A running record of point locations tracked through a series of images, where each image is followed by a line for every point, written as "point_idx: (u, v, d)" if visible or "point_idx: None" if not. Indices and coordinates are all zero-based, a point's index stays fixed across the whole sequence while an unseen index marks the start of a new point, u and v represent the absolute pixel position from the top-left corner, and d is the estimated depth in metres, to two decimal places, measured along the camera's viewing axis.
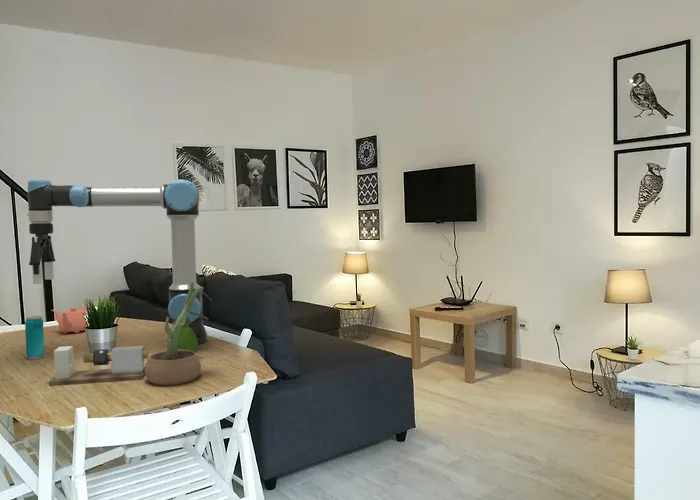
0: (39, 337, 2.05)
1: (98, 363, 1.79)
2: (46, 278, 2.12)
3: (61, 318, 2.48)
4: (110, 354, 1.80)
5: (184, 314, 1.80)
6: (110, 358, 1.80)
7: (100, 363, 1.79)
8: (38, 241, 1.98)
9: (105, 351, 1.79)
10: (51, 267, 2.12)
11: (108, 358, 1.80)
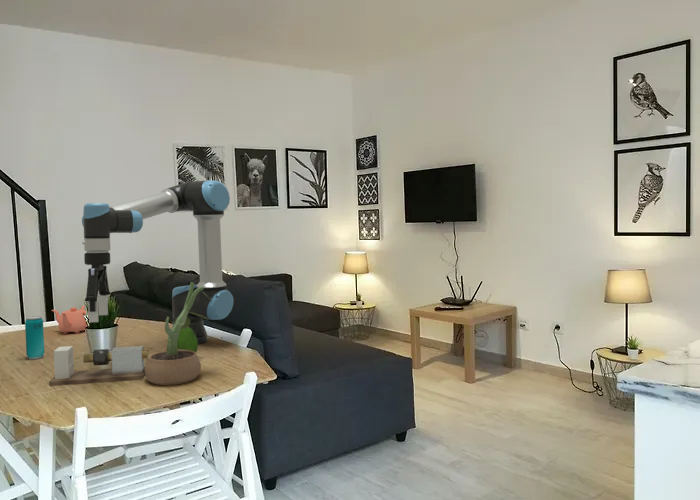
0: (39, 337, 2.05)
1: (98, 363, 1.79)
2: (100, 314, 1.87)
3: (61, 318, 2.48)
4: (110, 354, 1.80)
5: (184, 314, 1.80)
6: (110, 358, 1.80)
7: (100, 363, 1.79)
8: (95, 274, 1.73)
9: (105, 351, 1.79)
10: (106, 301, 1.87)
11: (108, 358, 1.80)
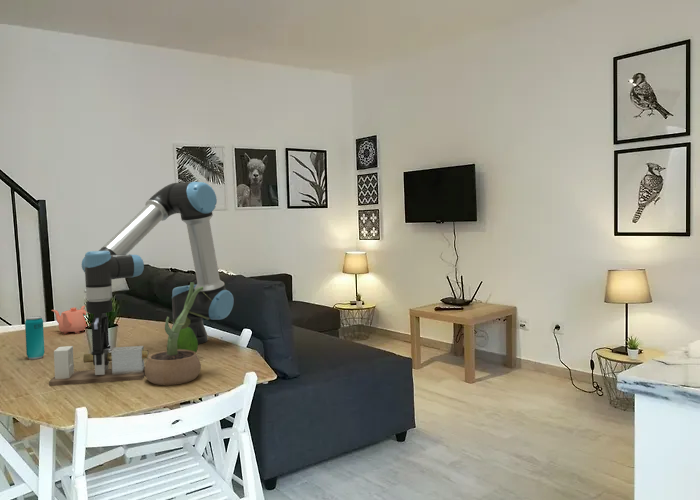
0: (39, 337, 2.05)
1: None
2: None
3: (61, 318, 2.48)
4: (110, 354, 1.80)
5: (184, 314, 1.80)
6: (110, 358, 1.80)
7: None
8: (99, 328, 1.74)
9: (105, 351, 1.79)
10: None
11: (108, 358, 1.80)
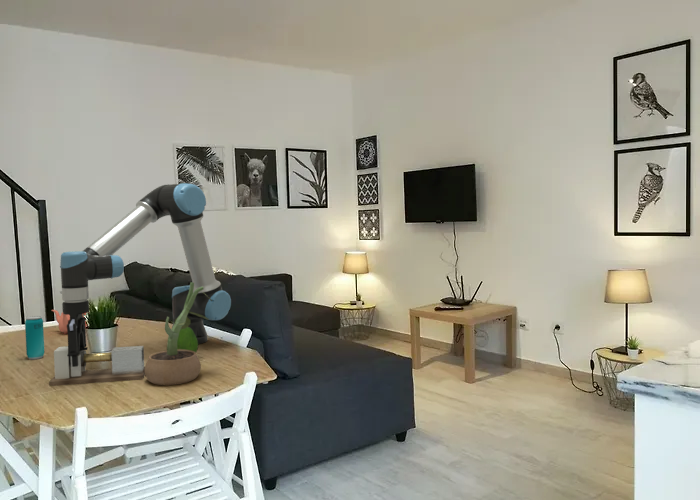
0: (39, 337, 2.05)
1: None
2: None
3: (61, 318, 2.48)
4: (87, 355, 1.79)
5: (184, 314, 1.80)
6: (87, 359, 1.78)
7: None
8: (74, 329, 1.72)
9: (81, 352, 1.78)
10: None
11: (85, 359, 1.78)
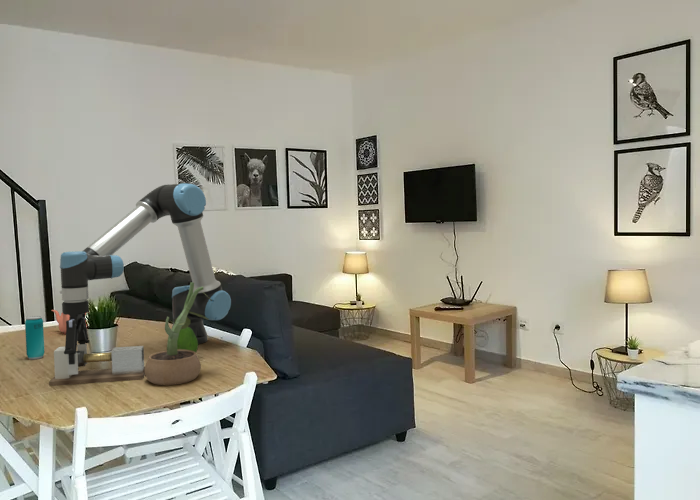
0: (39, 337, 2.05)
1: None
2: None
3: (61, 318, 2.48)
4: (86, 355, 1.79)
5: (184, 314, 1.80)
6: (86, 359, 1.78)
7: None
8: (73, 326, 1.72)
9: (81, 352, 1.78)
10: (85, 350, 1.85)
11: (84, 359, 1.78)
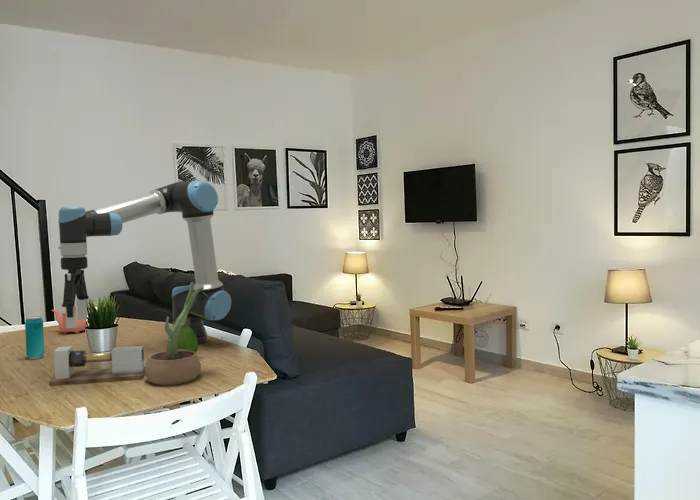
0: (39, 337, 2.05)
1: (74, 365, 1.77)
2: (79, 318, 1.85)
3: (61, 318, 2.48)
4: (86, 355, 1.79)
5: (184, 314, 1.80)
6: (86, 359, 1.78)
7: (76, 365, 1.77)
8: (72, 279, 1.71)
9: (81, 352, 1.78)
10: (84, 306, 1.85)
11: (84, 359, 1.78)
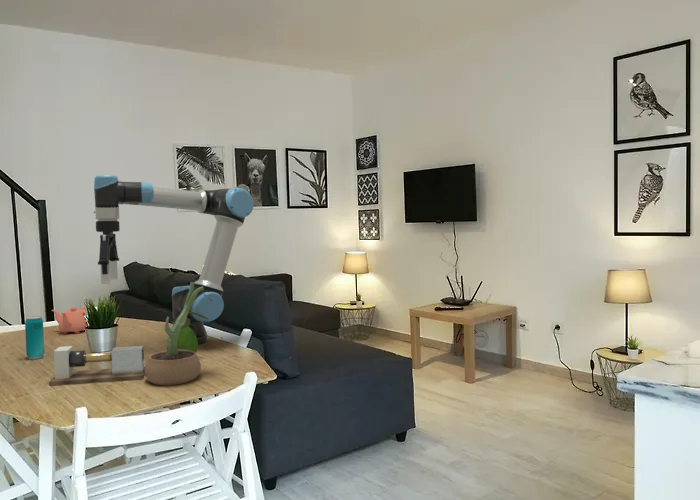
0: (39, 337, 2.05)
1: (74, 365, 1.77)
2: (110, 278, 2.03)
3: (61, 318, 2.48)
4: (86, 355, 1.79)
5: (184, 314, 1.80)
6: (86, 359, 1.78)
7: (76, 365, 1.77)
8: (107, 239, 1.89)
9: (81, 352, 1.78)
10: (115, 266, 2.03)
11: (84, 359, 1.78)
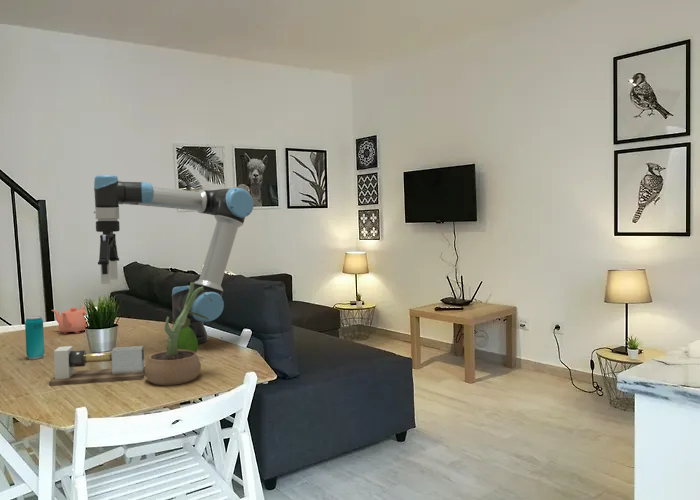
0: (39, 337, 2.05)
1: (74, 365, 1.77)
2: (110, 278, 2.03)
3: (61, 318, 2.48)
4: (86, 355, 1.79)
5: (184, 314, 1.80)
6: (86, 359, 1.78)
7: (76, 365, 1.77)
8: (107, 239, 1.89)
9: (81, 352, 1.78)
10: (115, 266, 2.03)
11: (84, 359, 1.78)
